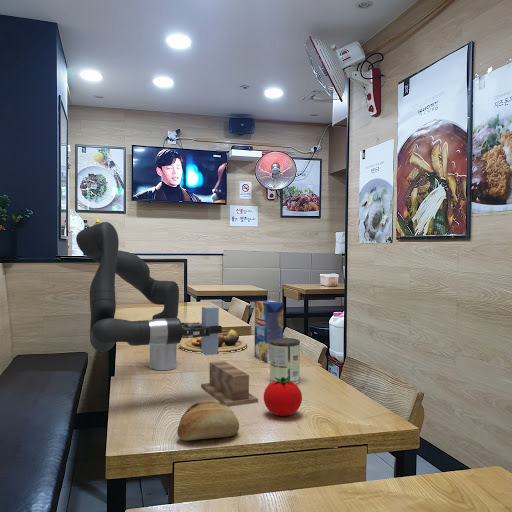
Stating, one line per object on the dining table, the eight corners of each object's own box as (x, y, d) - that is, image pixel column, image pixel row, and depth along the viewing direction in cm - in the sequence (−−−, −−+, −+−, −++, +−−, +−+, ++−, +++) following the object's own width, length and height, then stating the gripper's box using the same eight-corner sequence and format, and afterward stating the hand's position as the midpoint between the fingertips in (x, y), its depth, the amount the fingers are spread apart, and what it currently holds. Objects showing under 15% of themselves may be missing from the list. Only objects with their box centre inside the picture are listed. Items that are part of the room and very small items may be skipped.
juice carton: (283, 361, 191) (283, 303, 191) (266, 363, 188) (267, 303, 188) (270, 355, 202) (270, 300, 202) (254, 357, 199) (254, 301, 199)
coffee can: (274, 376, 167) (274, 337, 167) (302, 379, 164) (302, 338, 164) (265, 383, 158) (266, 341, 158) (295, 386, 154) (295, 343, 154)
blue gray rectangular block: (205, 355, 139) (206, 308, 139) (201, 352, 143) (201, 306, 143) (218, 354, 141) (218, 307, 141) (213, 351, 145) (214, 306, 145)
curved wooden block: (257, 402, 137) (258, 374, 137) (226, 406, 133) (226, 378, 133) (229, 383, 157) (229, 359, 157) (201, 386, 153) (201, 362, 153)
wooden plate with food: (175, 343, 232) (175, 326, 232) (237, 339, 241) (237, 323, 241) (185, 357, 201) (185, 338, 201) (255, 353, 211) (255, 335, 211)
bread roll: (171, 434, 112) (172, 401, 112) (230, 426, 118) (230, 394, 118) (182, 450, 103) (183, 413, 103) (245, 439, 109) (245, 405, 109)
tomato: (270, 406, 133) (271, 371, 133) (306, 411, 129) (306, 375, 129) (257, 418, 123) (258, 380, 124) (295, 423, 120) (295, 384, 120)
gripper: (169, 321, 129) (227, 318, 137) (157, 315, 142) (211, 313, 150) (169, 348, 129) (227, 344, 137) (157, 340, 142) (210, 336, 150)
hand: (218, 328), depth 143 cm, fingers closed on blue gray rectangular block, 4 cm apart
